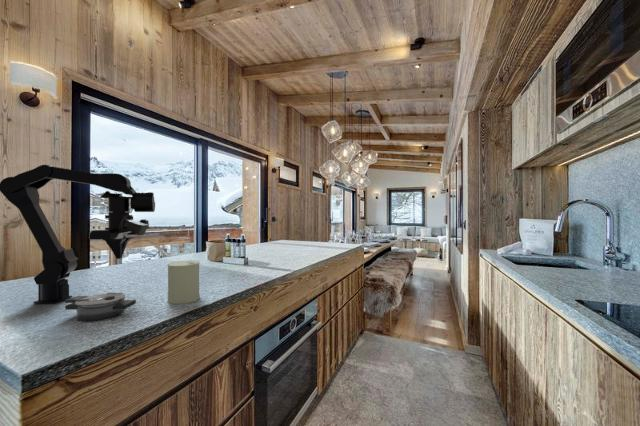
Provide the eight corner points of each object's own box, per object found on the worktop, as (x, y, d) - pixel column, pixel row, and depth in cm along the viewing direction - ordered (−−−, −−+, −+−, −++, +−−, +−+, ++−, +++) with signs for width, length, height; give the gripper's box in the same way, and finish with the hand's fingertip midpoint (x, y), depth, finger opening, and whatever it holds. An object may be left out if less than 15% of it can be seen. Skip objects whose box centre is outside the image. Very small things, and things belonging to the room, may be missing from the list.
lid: (53, 306, 70) (53, 301, 70) (88, 295, 80) (88, 291, 81) (107, 305, 70) (107, 300, 70) (134, 295, 81) (134, 290, 81)
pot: (55, 322, 70) (55, 308, 70) (91, 307, 82) (91, 295, 82) (118, 321, 71) (118, 307, 71) (144, 306, 82) (144, 294, 82)
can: (187, 305, 84) (187, 264, 83) (160, 303, 85) (160, 263, 85) (205, 296, 93) (205, 259, 93) (181, 294, 94) (181, 258, 94)
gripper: (125, 212, 85) (125, 263, 85) (158, 212, 104) (158, 254, 104) (87, 212, 85) (87, 263, 85) (127, 212, 103) (127, 254, 103)
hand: (119, 258), depth 94 cm, fingers closed
